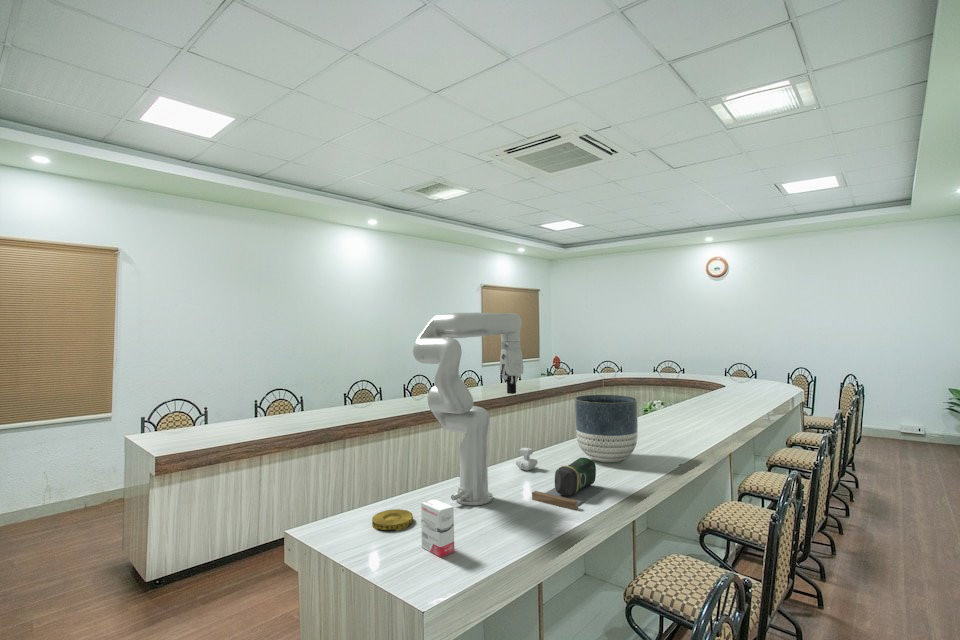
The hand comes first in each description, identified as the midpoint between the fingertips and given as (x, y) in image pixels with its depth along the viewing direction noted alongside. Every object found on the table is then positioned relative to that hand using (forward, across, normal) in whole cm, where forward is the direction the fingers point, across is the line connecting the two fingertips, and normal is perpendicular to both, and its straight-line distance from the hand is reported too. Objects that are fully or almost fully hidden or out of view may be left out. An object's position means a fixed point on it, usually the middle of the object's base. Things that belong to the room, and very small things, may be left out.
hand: (511, 393), depth 181 cm
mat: (+33, -2, -26) cm, 42 cm away
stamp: (+33, +14, +3) cm, 36 cm away
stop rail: (+33, -14, -26) cm, 44 cm away
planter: (+33, +46, -18) cm, 60 cm away
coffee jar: (+28, +10, -26) cm, 40 cm away
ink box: (+33, -60, -18) cm, 71 cm away
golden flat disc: (+34, -56, +5) cm, 66 cm away
